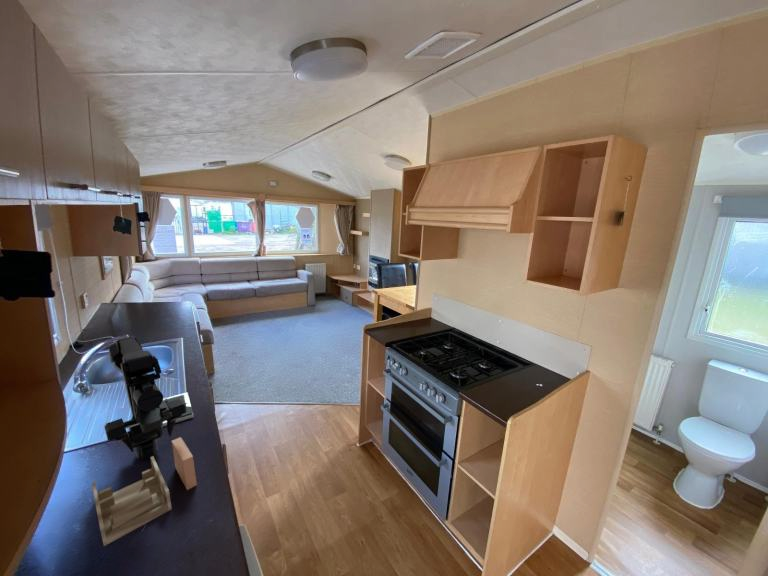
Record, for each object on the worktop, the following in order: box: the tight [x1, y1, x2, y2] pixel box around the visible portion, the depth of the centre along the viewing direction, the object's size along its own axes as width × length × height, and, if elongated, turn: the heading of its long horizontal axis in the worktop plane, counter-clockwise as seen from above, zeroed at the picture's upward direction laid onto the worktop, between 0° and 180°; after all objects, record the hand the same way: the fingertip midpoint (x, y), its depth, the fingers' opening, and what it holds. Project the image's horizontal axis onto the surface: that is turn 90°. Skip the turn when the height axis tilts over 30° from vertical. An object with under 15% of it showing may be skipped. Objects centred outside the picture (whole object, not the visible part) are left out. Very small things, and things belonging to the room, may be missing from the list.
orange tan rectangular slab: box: [171, 436, 197, 491], centre depth 96 cm, size 2×12×10 cm, turn 46°
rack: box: [91, 457, 173, 547], centre depth 86 cm, size 18×14×7 cm
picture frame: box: [159, 392, 194, 428], centre depth 131 cm, size 16×3×21 cm
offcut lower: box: [109, 493, 160, 531], centre depth 83 cm, size 4×10×2 cm, turn 136°
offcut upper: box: [110, 488, 153, 525], centre depth 82 cm, size 4×8×2 cm, turn 136°
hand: (151, 443), depth 95 cm, fingers open, 9 cm apart
